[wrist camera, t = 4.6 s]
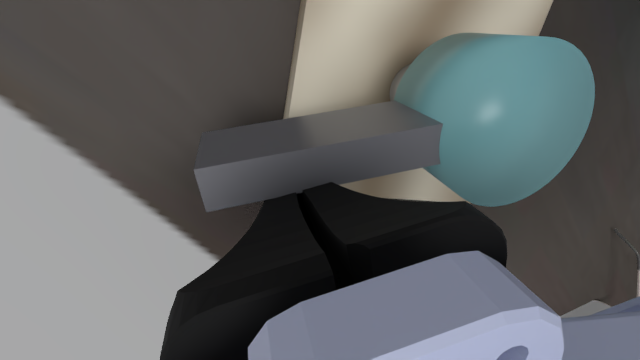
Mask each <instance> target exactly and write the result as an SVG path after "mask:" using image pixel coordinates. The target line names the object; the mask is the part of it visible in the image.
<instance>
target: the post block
mask: <svg viewBox="0 0 640 360" xmlns="http://www.w3.org/2000/svg"><path fill="white" fill-rule="evenodd" d="M552 2H553V0H301V3H300V10H299V17H298V23H297V30H296V37H295V43H294V50H293V57H292V63H291V70H290V77H289V84H288V90H287V97H286V104H285V110H284V117H283V119H287V118H293V117H299V116H305V115H311V114H317V113H323V112H329V111H335V110H341V109H347V108H353V107H359V106H365V105H371V104H377V103H383V102H389V101H394V97H395V94H396V91H397V88H398V86H399V83H400V81H401V79H402V77H403V75H404V73H405V72H406V70H407V69H408V67H409V66H410V65H411V63H412V62H413V61H414V60H415V59H416V57H417V56H418V55H419V54H420V53H421V52H423V51H424V50H425V49H426V48H427V47H429V46H430V45H432V44H433V43H434V42H436V41H438V40H440V39H442V38H444V37H447V36H450V35H453V34H458V33H487V34H506V35H525V36H539V34H540V32H541V29H542V27H543V24H544V22H545V19H546V17H547V14H548V12H549V9H550V7H551V4H552ZM340 186H342V187H345V188H348V189H350V190H353V191H356V192H359V193H363V194H367V195H370V196H375V197H380V198H391V199H407V200H422V201H438V202H454V201H466V200H465V199H463V198H462V197H460V196H459V195H458V194H456V193H455V192H454V191H452V190H451V189H450V188H448V187H447V186H446V185H444V184H443V183H442V182H440V181H439V180H438V179H437V178H435V177H434V176H433V175H431V174H430V173H429V172H427V171H426V170H425V169H423V168H418V169H413V170H409V171H404V172H399V173H394V174H389V175H384V176H380V177H375V178H370V179H365V180H360V181H355V182H350V183H346V184H341V185H340ZM466 202H468V201H466ZM468 203H469V204H471V202H468Z"/></svg>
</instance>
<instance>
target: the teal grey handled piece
mask: <svg viewBox="0 0 640 360" xmlns="http://www.w3.org/2000/svg"><path fill="white" fill-rule="evenodd" d="M594 98H595V84H594V78H593V73H592V70H591V67H590V65H589V63H588V61H587V59H586V57H585V56H584V55H583V53H582V52H581V51H580V50H579V49H578V48H577V47H575V46H574V45H573V44H571V43H569V42H567V41H565V40H562V39H559V38H554V37H544V36H525V35H506V34H487V33H458V34H453V35H450V36H447V37H444V38H442V39H440V40H438V41H436V42H434V43H433V44H432V45H430V46H429V47H427V48H426V49H425V50H424V51H423V52H421V53H420V54H419V55H418V56H417V57H416V59H415V60H414V61H413V62H412V63H411V65H410V66H409V67H408V69H407V70H406V72H405V73H404V75H403V77H402V79H401V81H400V83H399V86H398V88H397V91H396V94H395V97H394V101H389V102H383V103H377V104H371V105H365V106H359V107H353V108H347V109H341V110H335V111H329V112H323V113H317V114H311V115H305V116H299V117H293V118H287V119H281V120H275V121H269V122H263V123H257V124H251V125H245V126H239V127H233V128H227V129H221V130H215V131H209V132H203V133H202V136H201V140H200V144H199V149H198V153H197V157H196V161H195V166H194V173H195V176H196V180H197V183H198V186H199V190H200V193H201V196H202V200H203V203H204V206H205V210H206V212H210V211H215V210H220V209H225V208H229V207H234V206H239V205H244V204H249V203H254V202H259V201H263V200H268V199H273V198H277V197H281V196H284V195H287V194H291V193H294V192H296V194H297V193H302V192H303V191H302V190H305V189H308V188H312V187H315V186H319V185H322V184H326V183H329V182H333V183H335V184H338V185H341V184H346V183H350V182H355V181H360V180H365V179H370V178H375V177H380V176H384V175H389V174H394V173H399V172H404V171H409V170H413V169H418V168H423V169H425V170H426V171H427V172H429V173H430V174H431V175H433V176H434V177H435V178H437V179H438V180H439V181H440V182H442V183H443V184H444V185H446V186H447V187H448V188H450V189H451V190H452V191H454V192H455V193H456V194H458V195H459V196H460V197H462V198H463V199H465V200H466V201H468V202H471V203H473V204H476V205H480V206H489V207H490V206H502V205H507V204H510V203H514V202H517V201H519V200H521V199H524V198H526V197H528V196H530V195H531V194H533V193H535V192H536V191H538V190H539V189H541V188H542V187H543V186H545V185H546V184H547V183H549V182H550V181H551V180H552V179H553V178H554V177H555V176H556V175H557V174H558V173H559V172H560V171H561V170H562V169H563V168H564V167H565V165H566V164H567V163H568V162H569V160H570V159H571V158H572V156H573V155H574V153H575V152H576V150H577V149H578V147H579V145H580V143H581V141H582V139H583V138H584V135H585V133H586V131H587V128H588V126H589V122H590V119H591V116H592V112H593V107H594Z"/></svg>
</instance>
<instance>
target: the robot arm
mask: <svg viewBox="0 0 640 360" xmlns="http://www.w3.org/2000/svg"><path fill="white" fill-rule="evenodd" d="M302 191H303V192H302V193H297V194H296V192H294V193H291V194H287V195H284V196H281V197H277V198H273V199H268V200H265V201H264V204H263V206H262V208H261V210H260V212H259V214H258V216H257V218H256V219H255V221H254V223H253V224H252V226H251V227H250V229H249V230H248V231H247V233H246V234H245V235H244V236H243V237H242V238H241V240H240V241H239V242H238V243H237V244H236V245H235V246H234V247H233V248H232V249H231V250H230V251H229V252H228V253H227V254H226V255H225V256H224V257H223V258H222V259H221V260H220V261H218V262H217V263H216V264H215V265H214V266H212V267H211V268H210V269H209V270H207V271H206V272H205V273H203V274H202V275H200V276H199V277H197V278H196V279H195V280H193V281H192V282H190V283H189V284H187V285H186V286H184V287H183V288H181V289H180V290H178V291H177V294H176V298H175V301H174V304H173V306H172V309H171V312H170V315H169V319H168V322H167V327H166V331H165V336H164V341H163V346H162V351H161V356H160V360H640V296H639V297H637V298H634V299H631V300H629V301H626V302H624V303H621V304H618V305H616V306H613V307H610V308H608V309H605V310H602V311H600V312H597V313H595V314H592V315H589V316H580V317H569V318H561V317H560V316H559V315H558V314H557V313H555V312H554V311H553V310H552V309H551V308H550V307H549V306H548V305H546V304H545V303H544V302H543V301H542V300H541V299H540V298H539V297H537V296H536V295H535V294H534V293H533V292H532V291H531V290H530V289H528V288H527V287H526V286H525V285H524V284H523V283H522V282H521V281H519V280H518V279H517V278H516V277H515V276H514V275H513V274H512V273H510V272H509V271H508V270H507V269H506V260H507V242H506V238H505V236H504V234H503V231H502V229H501V228H500V227H499V226H497V225H496V224H495V223H494V222H493V221H492V220H491V219H489V218H488V217H487V216H485V215H484V214H483V213H481V212H480V211H479V210H477V209H476V208H475V207H473V206H472V205H471V204H469V203H468V202H466V201H454V202H410V201H399V200H392V199H386V198H380V197H375V196H370V195H367V194H363V193H359V192H356V191H353V190H350V189H348V188H345V187H342V186H340V185H338V184H335V183H333V182H329V183H326V184H322V185H319V186H315V187H312V188H308V189H305V190H302Z"/></svg>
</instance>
